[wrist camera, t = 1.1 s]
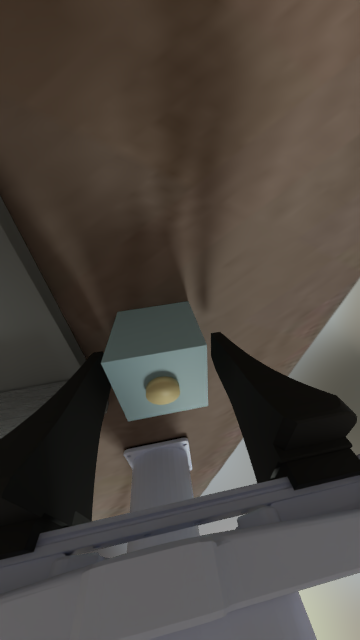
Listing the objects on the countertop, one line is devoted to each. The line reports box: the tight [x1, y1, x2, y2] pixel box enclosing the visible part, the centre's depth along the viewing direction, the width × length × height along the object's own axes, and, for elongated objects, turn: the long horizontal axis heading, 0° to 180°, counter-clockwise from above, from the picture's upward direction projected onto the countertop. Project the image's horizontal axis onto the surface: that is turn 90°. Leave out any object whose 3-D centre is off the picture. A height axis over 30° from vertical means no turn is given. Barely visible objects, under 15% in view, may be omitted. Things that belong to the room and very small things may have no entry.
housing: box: [101, 301, 208, 421], centre depth 12 cm, size 5×5×5 cm
